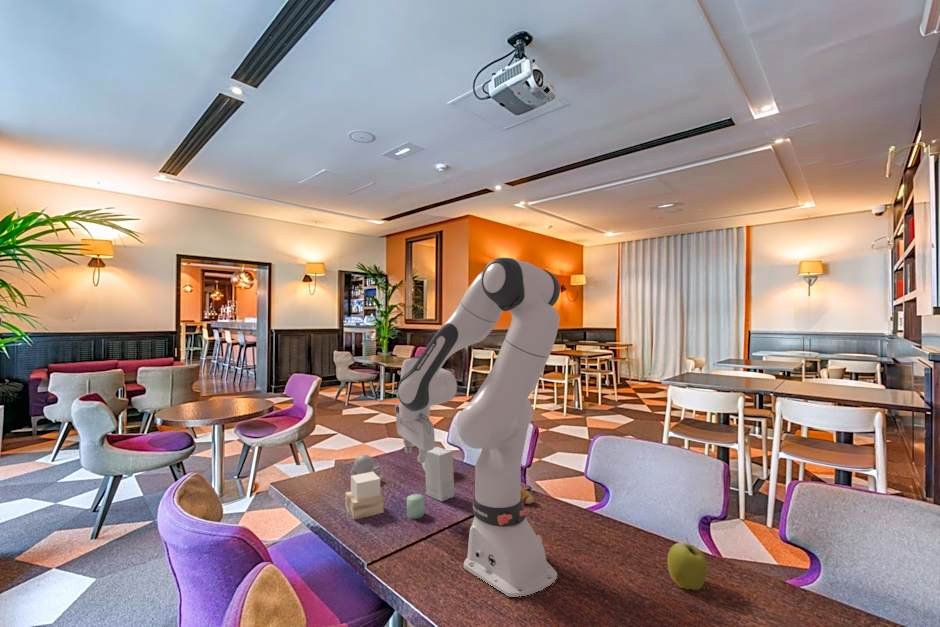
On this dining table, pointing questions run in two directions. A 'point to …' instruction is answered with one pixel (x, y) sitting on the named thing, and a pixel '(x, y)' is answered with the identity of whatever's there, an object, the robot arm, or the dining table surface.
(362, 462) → the round bodied animal figurine
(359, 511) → the tower base
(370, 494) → the tower top
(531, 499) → the croissant
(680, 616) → the dining table surface
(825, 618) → the dining table surface
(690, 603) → the dining table surface
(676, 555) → the apple
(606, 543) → the dining table surface
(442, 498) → the skincare box
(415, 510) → the sage green capsule
